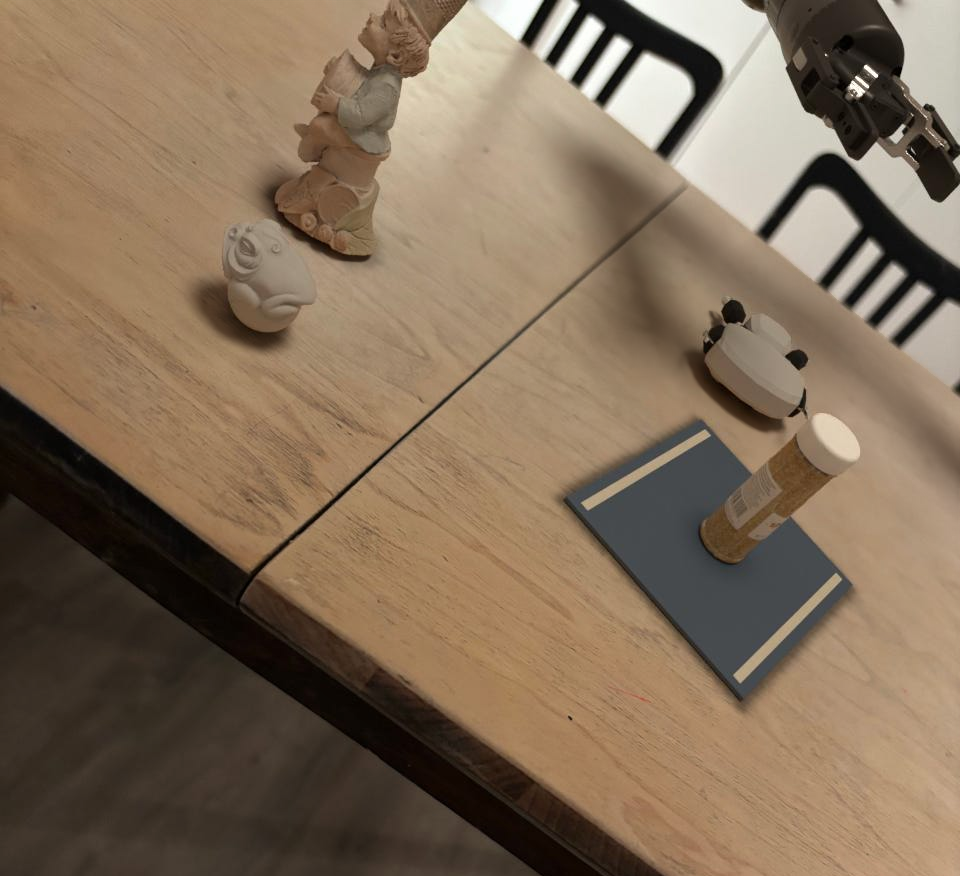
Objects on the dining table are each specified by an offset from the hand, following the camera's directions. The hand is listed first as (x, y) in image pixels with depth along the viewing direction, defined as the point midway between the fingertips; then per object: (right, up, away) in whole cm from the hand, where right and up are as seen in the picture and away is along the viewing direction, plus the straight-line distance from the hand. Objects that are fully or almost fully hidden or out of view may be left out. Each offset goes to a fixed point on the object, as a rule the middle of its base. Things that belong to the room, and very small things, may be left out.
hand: (908, 170), depth 69 cm
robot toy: (-4, -7, +28) cm, 29 cm away
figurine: (-43, 0, +9) cm, 44 cm away
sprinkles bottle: (-11, -25, +11) cm, 30 cm away
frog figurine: (-46, -11, 0) cm, 48 cm away
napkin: (-11, -25, +11) cm, 30 cm away
